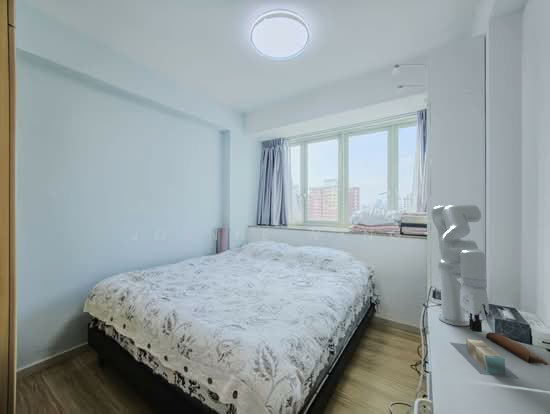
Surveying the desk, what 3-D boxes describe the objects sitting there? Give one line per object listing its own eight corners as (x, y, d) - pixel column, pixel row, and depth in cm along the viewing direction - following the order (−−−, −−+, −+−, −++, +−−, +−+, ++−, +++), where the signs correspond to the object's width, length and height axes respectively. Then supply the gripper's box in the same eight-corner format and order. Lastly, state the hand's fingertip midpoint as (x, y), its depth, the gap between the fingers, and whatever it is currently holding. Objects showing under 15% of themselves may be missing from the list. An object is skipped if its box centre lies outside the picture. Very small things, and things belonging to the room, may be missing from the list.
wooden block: (466, 338, 90) (487, 357, 78) (481, 340, 89) (504, 359, 77) (467, 352, 90) (487, 372, 78) (482, 353, 88) (505, 374, 77)
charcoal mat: (449, 343, 97) (449, 342, 97) (480, 347, 94) (480, 345, 94) (480, 375, 77) (480, 373, 77) (520, 380, 75) (519, 378, 75)
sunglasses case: (553, 365, 82) (542, 348, 83) (536, 375, 82) (526, 358, 83) (505, 339, 100) (496, 325, 101) (491, 347, 100) (482, 333, 101)
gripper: (452, 277, 97) (454, 321, 96) (474, 287, 83) (476, 339, 82) (473, 278, 95) (475, 323, 94) (499, 288, 81) (501, 342, 80)
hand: (475, 330), depth 88 cm, fingers closed
